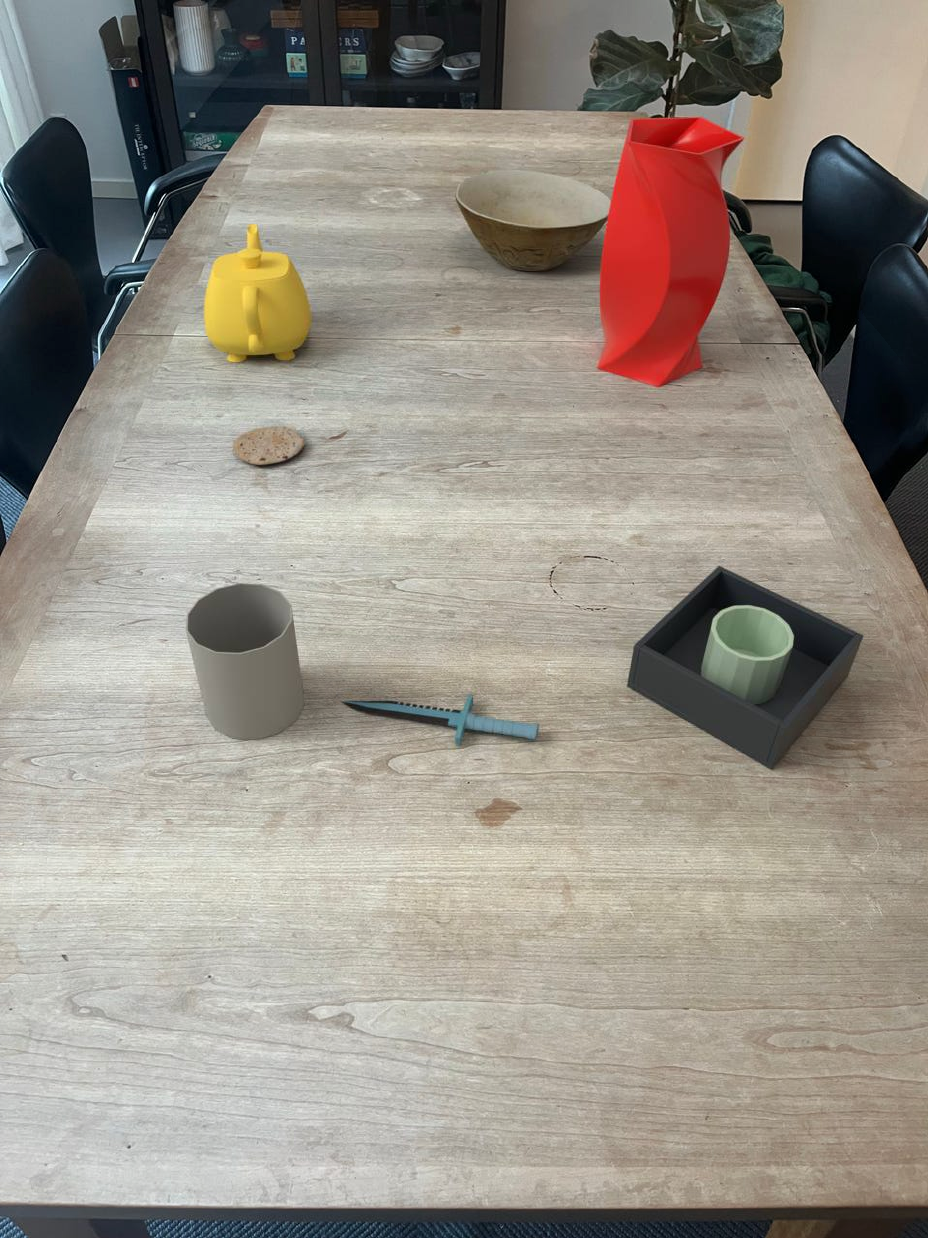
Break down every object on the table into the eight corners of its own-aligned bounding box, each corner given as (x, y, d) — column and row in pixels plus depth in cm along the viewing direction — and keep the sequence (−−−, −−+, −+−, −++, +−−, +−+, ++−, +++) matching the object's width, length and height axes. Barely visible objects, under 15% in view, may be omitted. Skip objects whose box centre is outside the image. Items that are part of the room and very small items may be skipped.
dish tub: (847, 676, 89) (864, 635, 86) (771, 770, 81) (786, 728, 78) (709, 606, 96) (719, 565, 93) (626, 686, 88) (633, 644, 85)
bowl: (615, 237, 162) (623, 173, 156) (595, 299, 145) (602, 230, 139) (474, 222, 166) (475, 159, 159) (438, 280, 149) (438, 213, 142)
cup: (305, 734, 83) (293, 648, 77) (205, 745, 82) (184, 659, 76) (301, 663, 90) (289, 578, 83) (207, 673, 89) (188, 587, 82)
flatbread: (239, 472, 111) (238, 465, 111) (229, 437, 116) (227, 430, 116) (311, 460, 113) (311, 452, 113) (297, 426, 118) (297, 418, 118)
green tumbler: (792, 674, 89) (807, 629, 85) (755, 717, 85) (769, 672, 81) (724, 639, 92) (736, 594, 88) (686, 679, 88) (696, 634, 84)
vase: (614, 325, 139) (640, 108, 120) (717, 344, 135) (761, 123, 117) (583, 375, 129) (607, 145, 110) (694, 397, 125) (739, 163, 106)
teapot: (205, 379, 127) (187, 282, 118) (215, 309, 141) (200, 218, 133) (314, 374, 128) (304, 278, 119) (313, 305, 142) (304, 215, 134)
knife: (330, 718, 84) (349, 676, 88) (332, 727, 85) (350, 686, 88) (532, 747, 81) (542, 703, 84) (532, 757, 82) (542, 712, 85)
